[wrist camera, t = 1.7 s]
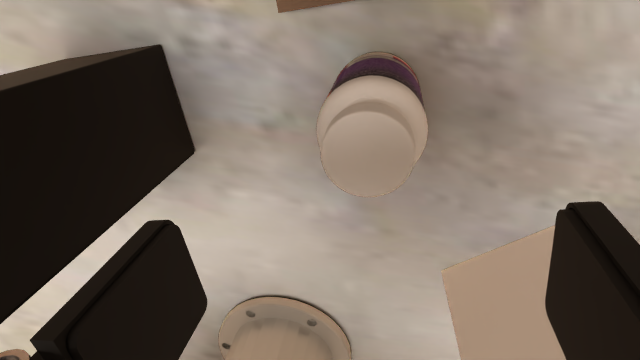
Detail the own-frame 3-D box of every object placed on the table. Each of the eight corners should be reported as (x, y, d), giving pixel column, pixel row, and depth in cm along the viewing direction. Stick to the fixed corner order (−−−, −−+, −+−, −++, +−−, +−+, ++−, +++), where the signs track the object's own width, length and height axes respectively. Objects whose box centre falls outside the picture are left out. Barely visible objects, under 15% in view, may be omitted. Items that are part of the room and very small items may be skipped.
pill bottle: (325, 62, 24) (288, 108, 16) (412, 41, 23) (423, 79, 14) (344, 141, 26) (321, 219, 18) (425, 126, 25) (441, 203, 17)
